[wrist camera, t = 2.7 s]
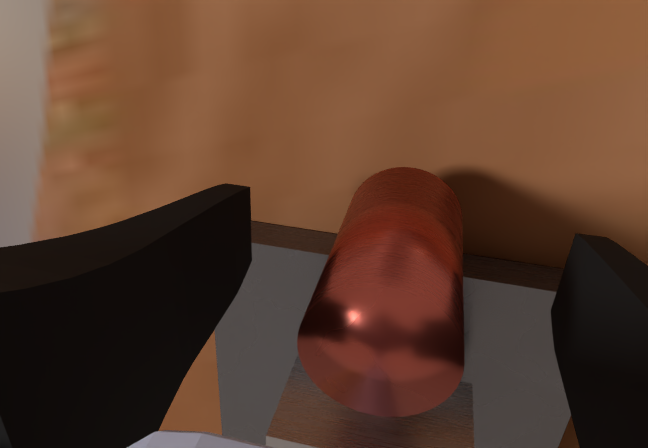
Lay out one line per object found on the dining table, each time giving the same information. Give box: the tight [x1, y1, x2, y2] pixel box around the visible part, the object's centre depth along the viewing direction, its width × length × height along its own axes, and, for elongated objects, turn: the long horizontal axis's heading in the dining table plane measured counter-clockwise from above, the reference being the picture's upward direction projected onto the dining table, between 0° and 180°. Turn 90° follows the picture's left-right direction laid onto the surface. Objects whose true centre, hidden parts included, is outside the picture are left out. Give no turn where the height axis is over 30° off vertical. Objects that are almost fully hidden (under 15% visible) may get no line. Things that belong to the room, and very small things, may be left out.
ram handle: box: [266, 167, 474, 448], centre depth 12 cm, size 8×5×5 cm, turn 177°
